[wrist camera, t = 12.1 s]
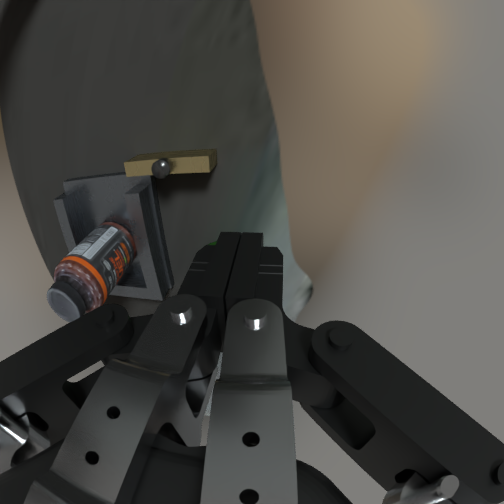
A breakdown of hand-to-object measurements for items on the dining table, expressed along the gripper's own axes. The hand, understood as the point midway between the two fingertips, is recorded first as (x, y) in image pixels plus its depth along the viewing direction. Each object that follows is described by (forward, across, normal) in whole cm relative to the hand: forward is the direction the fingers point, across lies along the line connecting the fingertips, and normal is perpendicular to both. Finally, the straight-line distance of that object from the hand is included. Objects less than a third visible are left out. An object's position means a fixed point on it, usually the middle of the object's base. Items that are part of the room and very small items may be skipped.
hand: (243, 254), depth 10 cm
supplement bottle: (+16, +17, +9) cm, 25 cm away
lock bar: (+16, +9, 0) cm, 19 cm away
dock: (+16, +17, +8) cm, 25 cm away
